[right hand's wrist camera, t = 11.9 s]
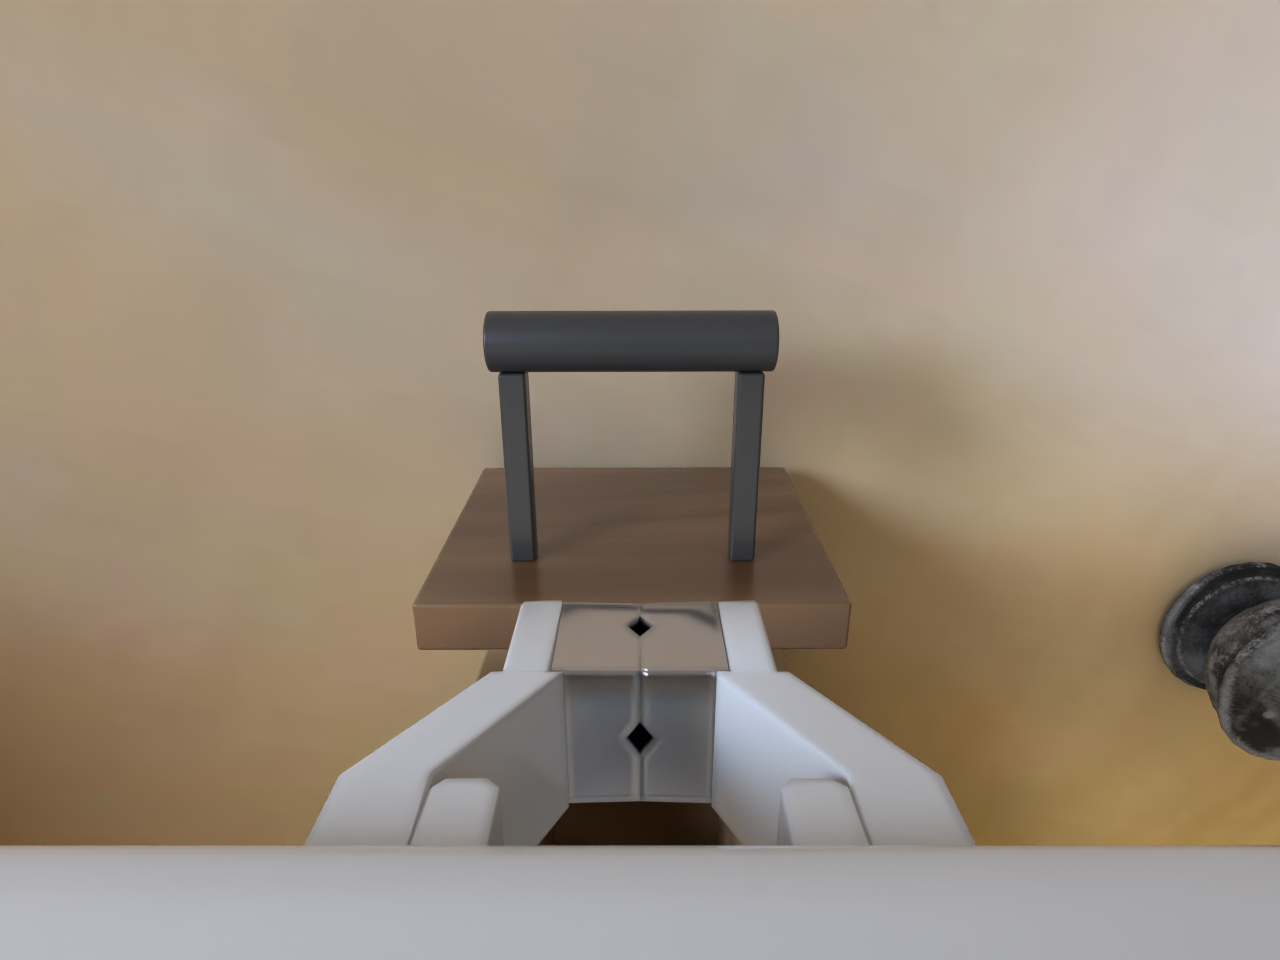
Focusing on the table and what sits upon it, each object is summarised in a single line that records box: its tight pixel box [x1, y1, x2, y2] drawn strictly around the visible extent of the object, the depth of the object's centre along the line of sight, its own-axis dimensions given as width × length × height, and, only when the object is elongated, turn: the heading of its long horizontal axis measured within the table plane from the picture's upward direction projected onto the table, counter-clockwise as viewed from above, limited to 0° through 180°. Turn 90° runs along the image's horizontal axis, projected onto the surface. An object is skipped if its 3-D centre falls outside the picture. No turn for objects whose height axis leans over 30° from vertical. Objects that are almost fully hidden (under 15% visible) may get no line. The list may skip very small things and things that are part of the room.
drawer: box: [413, 311, 851, 846], centre depth 23 cm, size 25×10×9 cm, turn 0°
